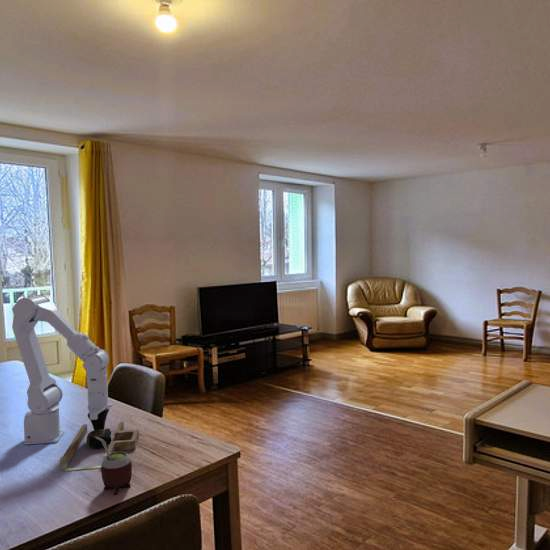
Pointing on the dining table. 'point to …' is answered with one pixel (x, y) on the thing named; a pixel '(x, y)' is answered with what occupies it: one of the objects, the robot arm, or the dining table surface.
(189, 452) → the dining table surface
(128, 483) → the mate gourd
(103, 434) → the tape measure
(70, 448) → the channel
